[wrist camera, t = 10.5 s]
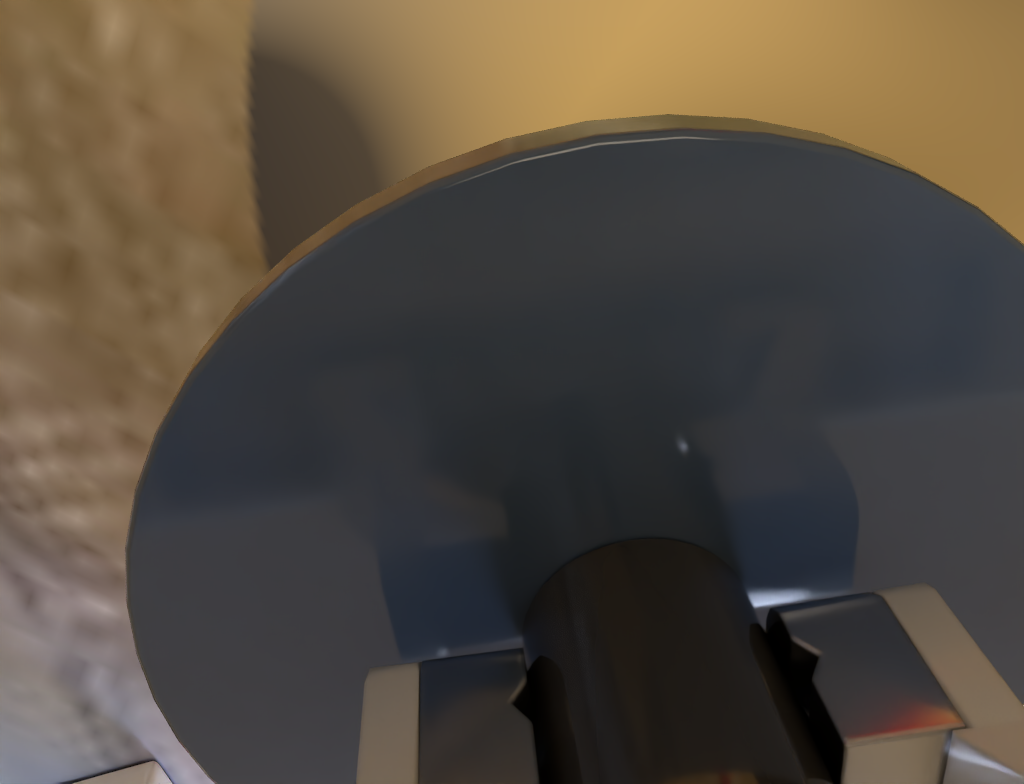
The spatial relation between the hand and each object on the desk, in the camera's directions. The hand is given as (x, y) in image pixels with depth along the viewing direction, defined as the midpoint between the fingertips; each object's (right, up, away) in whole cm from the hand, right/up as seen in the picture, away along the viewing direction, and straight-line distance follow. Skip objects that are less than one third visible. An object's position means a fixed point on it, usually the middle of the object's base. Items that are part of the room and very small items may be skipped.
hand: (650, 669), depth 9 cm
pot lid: (0, +1, +1) cm, 1 cm away
